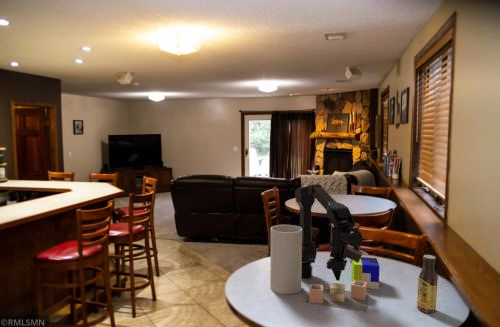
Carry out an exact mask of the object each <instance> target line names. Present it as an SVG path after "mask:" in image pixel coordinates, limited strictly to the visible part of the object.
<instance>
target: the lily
mask: <svg viewBox="0 0 500 327" xmlns="http://www.w3.org/2000/svg"><path fill="white" fill-rule="evenodd" d="M348 246H350V245H348ZM350 247H351V246H350ZM360 251H361V252H362V256H368V255H369V253H368V252H366V251H363V250H360ZM350 264H351V265H352V259H350ZM350 264H349V265H350Z"/></svg>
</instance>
